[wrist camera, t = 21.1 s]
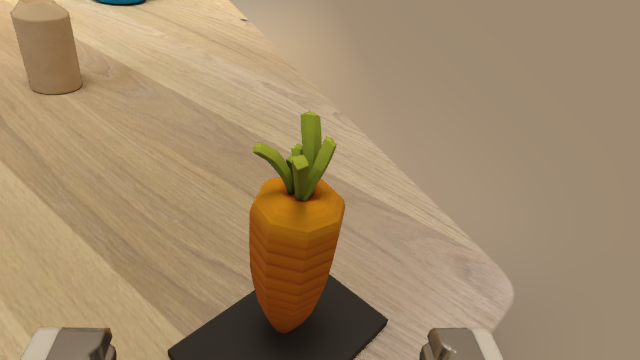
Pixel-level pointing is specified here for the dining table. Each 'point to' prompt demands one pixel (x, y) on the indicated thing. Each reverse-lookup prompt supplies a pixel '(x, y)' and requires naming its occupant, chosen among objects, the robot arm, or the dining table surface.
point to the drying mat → (294, 346)
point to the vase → (121, 1)
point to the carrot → (294, 228)
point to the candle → (47, 46)
